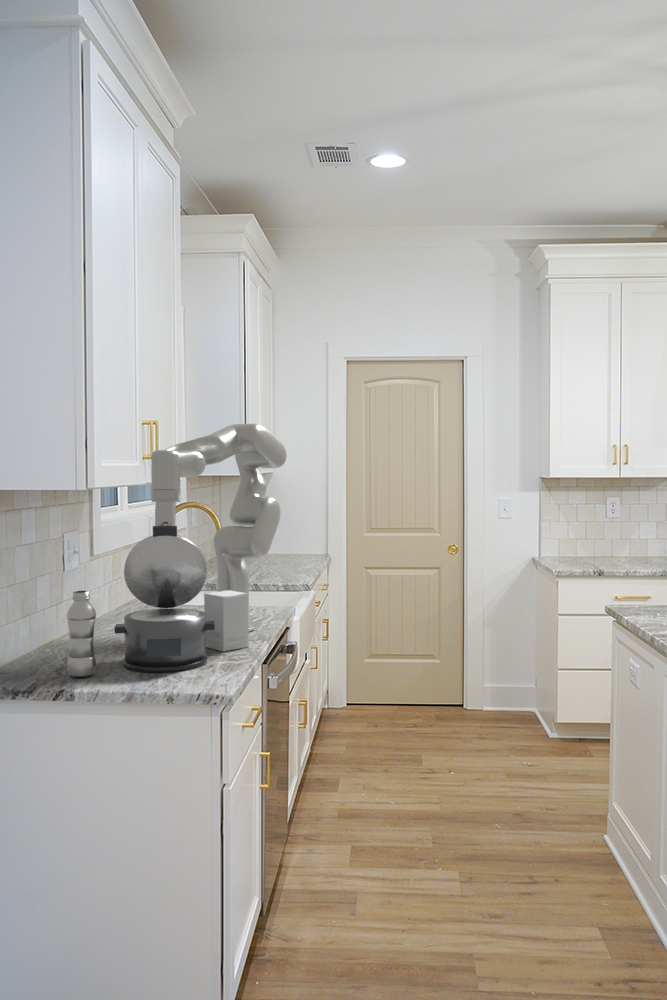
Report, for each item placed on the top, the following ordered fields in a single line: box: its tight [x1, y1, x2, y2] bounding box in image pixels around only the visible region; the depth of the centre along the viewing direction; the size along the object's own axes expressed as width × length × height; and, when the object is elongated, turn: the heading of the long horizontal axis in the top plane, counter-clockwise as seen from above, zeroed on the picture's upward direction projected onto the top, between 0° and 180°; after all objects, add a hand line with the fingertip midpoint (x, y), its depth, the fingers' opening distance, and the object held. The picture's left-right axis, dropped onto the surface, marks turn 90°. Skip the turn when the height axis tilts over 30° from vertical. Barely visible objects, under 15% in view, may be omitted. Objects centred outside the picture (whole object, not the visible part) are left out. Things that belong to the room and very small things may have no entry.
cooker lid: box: [123, 525, 208, 609], centre depth 206 cm, size 23×21×4 cm
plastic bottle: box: [66, 590, 97, 678], centre depth 186 cm, size 6×7×20 cm
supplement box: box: [203, 590, 250, 652], centre depth 217 cm, size 9×9×15 cm
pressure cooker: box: [114, 607, 215, 674], centre depth 199 cm, size 22×24×12 cm
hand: (166, 564), depth 212 cm, fingers closed
